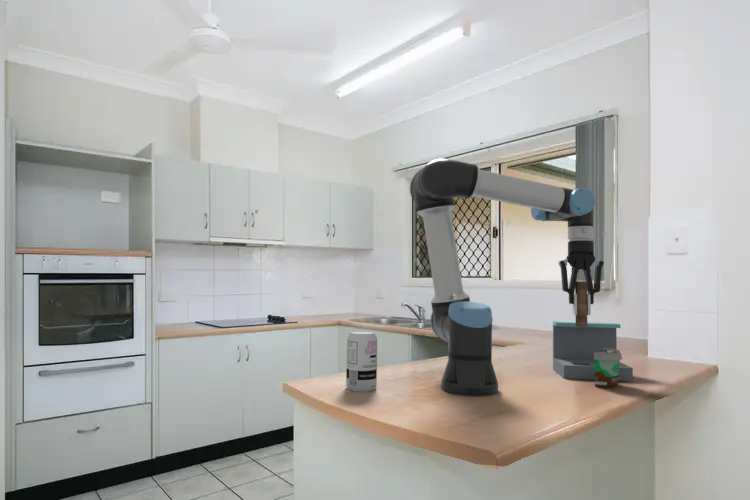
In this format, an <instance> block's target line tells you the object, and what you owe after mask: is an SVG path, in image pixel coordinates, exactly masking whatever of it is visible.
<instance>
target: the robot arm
mask: <svg viewBox="0 0 750 500" xmlns="http://www.w3.org/2000/svg"><path fill="white" fill-rule="evenodd" d="M409 193H410V197H411V199H412V201H414V203H415V208H416V213H417V215H419V216H420V217H421V218H422V220H423V226H424V233H425V239H426V246H427V251H428V253H427V254H428V258H429V259H428V260H429V264H430V265H429V266H430V271H431V278H432V285H433V291H434V296H433V297H432V299H431V301H430V304H431V310H432V313H431V315H430V326H431V329H432V332H434V334H435V335H436V337H438V338H439V339H440V340H442V342H445V343H448V344H447V345H448V351H447V352H448V359H447V363H446V365H445V368H444V372H443V374H442V378H441V389H442V390H443V391H445V392H448V393H450V394H456V395H459V396H460V395H462V396H472V397H473V396H474V397H475V396H477V397H478V396H479V397H480V396H482V397H483V396H491V395H495V394H497V393H498V392H499V382H498V379H497V374H496V371H495V368H494V365H493V363H492V359H493V358H492V353H493V352H492V349H493V348H492V347H493V344H492V343H493V322H494V321H493V314H492V313H493V312H492V308H491V307H490V306H489V305H488V304H485V303H481V302H475V301H471V299H470V295H469V294H468V293H467V292H465V291H464V289H463V288H464V286H463V281H462V280H463V279H462V275H461V270H460V269H461V268H460V263H459V255H458V251H457V250H458V249H457V242H456V237H455V231H454V230H455V229H454V224H453V218H452V213H453V211H454V209H455V208H456V204H455V198H461V199H466V200H470V199H472V197H475V198H481V199H485V200H491V201H494V202H496V201H497V202H500V203H505V204H512V205H516V206H520V207H526V208H530V213H531V217H532V218H533V220H535V221H541V222H567V239H568V242H567V256H566V258H564V259H563V260H558V265H559V267H560V274H561V275H560V276H561V286H562V287H561V288H562V292H565V293H567V294H568V304H569V305H571V311H572V312H571V314H572V315H573V316H574V315H575V316H576V315H577V294H575V286H576V281H577V280H578V279H577V278H578V273H579V270H583V273H584V274H583V275H584V279H585V281H587V316H591V313H592V310H591V305H594V302H595V300H594V298H595V297H594V296H595V294H596V293H600V292H601V281H602V280H601V278H602V268H603V266H604V261H603V260H599V259H596V256H595V254H594V253H595V252H594V245H595V244H594V241H593V239H594V207H595V204H596V198H595V195H594V193H593V192H592V191H591V190H590V189H588V188H585V187H577V188H575V189H574V188H572V189H571V188H567V187H561V186H556V185H553V184H548V183H542V182H539V181H533V180H529V179H525V178H520V177H516V176H511V175H506V174H502V173H498V172H492V171H489V170H488V171H487V170H483V169H480V167H479V166H478V165H477V164H473V163H468V162H464V161H459V160H454V159H448V158H438V159H434V160H431V161H430V162H428V163H427V164H425V165H424V167H422V168H420V169H419V170H418V171H417V172H416V173H414V175H413V177H412V179H411V181H410V185H409ZM568 264H569V265H570V267H571V270H570V271H571V273H570V274H571V275H570V279H568V268H567V266H568ZM593 264H594V277H593V278H594V279H592V274H591V267H592V265H593ZM568 280H569V281H568Z"/></svg>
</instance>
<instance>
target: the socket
mask: <svg viewBox="0 0 750 500" xmlns="http://www.w3.org/2000/svg"><path fill="white" fill-rule="evenodd" d="M617 329H621V324H620V323H616V322H593V321H592V322H591V321H587V326H585V327H583V326H576V321H559V320H557V321H554V320H553V321H552V370H553V371H554V372H555V373H556V374H557V375H559V376H560V377H561V378H563V379H570V380H589V381H590V380H592V381H595V362H594V352H600V351H601V352H602V351H603V348H610V349H616V350H618V349H617V342H618V341H617ZM633 370H634V368H633V367H631V366H629V365H627V364H625V363H623V362H621V361H620V365H619V379H618V382H634V376H633V375H634V373H633V372H634V371H633Z"/></svg>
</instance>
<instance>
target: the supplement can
mask: <svg viewBox="0 0 750 500" xmlns="http://www.w3.org/2000/svg"><path fill="white" fill-rule="evenodd" d="M377 374H378V336H377V334H376V332H375V331H370V330H368V331H367V330H356V331H355V330H353V331H349V334H348V336H347V338H346V374H345V375H346V377H345V378H346V379H345V382H346V383H345V386H346V388H348V390H349V391H352V392H358V393H359V392H360V393H361V392H362V393H363V392H371V391H374V390H375V389H376V388H377V387H378V386H377V383H378V382H377V381H378V380H377V379H378V378H377V377H378V375H377Z"/></svg>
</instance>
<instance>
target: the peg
mask: <svg viewBox="0 0 750 500" xmlns="http://www.w3.org/2000/svg"><path fill="white" fill-rule="evenodd" d="M574 294H577V315H575V322H576V326H583V327H585V326H587V322H588V315H587V294H588V291H587V281H586V280H585V281H583V280H582V281H581V280H578V281H577V280H576V286H575V291H574Z"/></svg>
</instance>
